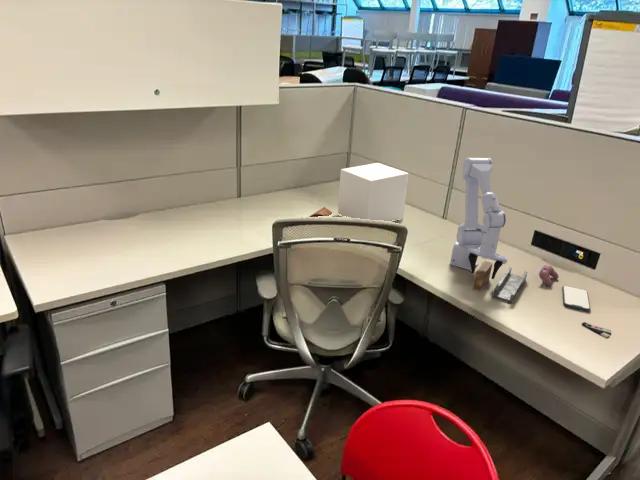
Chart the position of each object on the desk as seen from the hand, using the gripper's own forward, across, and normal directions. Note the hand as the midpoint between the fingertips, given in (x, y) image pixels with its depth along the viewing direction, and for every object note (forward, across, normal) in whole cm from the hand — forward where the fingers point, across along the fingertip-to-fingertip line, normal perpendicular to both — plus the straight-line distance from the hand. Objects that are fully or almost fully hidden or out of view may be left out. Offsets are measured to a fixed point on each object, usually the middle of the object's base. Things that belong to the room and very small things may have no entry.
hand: (482, 275), depth 186 cm
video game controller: (+4, +20, +19) cm, 28 cm away
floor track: (+4, +10, +3) cm, 11 cm away
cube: (+4, -66, +34) cm, 74 cm away
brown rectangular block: (+4, 0, 0) cm, 4 cm away
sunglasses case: (+4, -84, +17) cm, 86 cm away
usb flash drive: (+4, +41, -7) cm, 42 cm away
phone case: (+4, +32, +10) cm, 34 cm away
